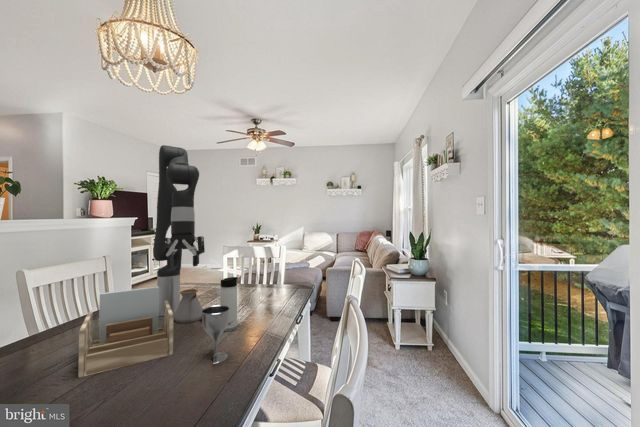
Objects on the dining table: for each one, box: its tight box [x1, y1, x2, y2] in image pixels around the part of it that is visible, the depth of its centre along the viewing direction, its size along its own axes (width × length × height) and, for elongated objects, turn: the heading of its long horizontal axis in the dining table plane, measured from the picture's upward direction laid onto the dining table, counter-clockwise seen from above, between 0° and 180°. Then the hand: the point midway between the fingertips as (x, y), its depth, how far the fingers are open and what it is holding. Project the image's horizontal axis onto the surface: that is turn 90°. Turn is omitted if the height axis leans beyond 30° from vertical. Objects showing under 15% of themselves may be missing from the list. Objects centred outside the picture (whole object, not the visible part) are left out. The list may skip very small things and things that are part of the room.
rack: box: [77, 301, 174, 378], centre depth 86 cm, size 18×22×14 cm
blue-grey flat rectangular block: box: [98, 285, 160, 343], centre depth 91 cm, size 2×16×18 cm, turn 124°
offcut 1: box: [106, 317, 153, 344], centre depth 88 cm, size 2×12×9 cm, turn 124°
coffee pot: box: [173, 288, 204, 324], centre depth 111 cm, size 21×12×15 cm, turn 33°
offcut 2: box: [109, 327, 149, 343], centre depth 85 cm, size 2×10×7 cm, turn 124°
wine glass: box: [201, 304, 229, 365], centre depth 85 cm, size 8×8×15 cm
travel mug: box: [219, 276, 239, 332], centre depth 108 cm, size 6×7×20 cm
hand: (183, 266), depth 96 cm, fingers open, 8 cm apart
